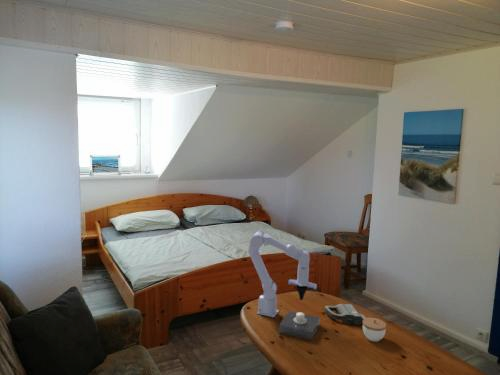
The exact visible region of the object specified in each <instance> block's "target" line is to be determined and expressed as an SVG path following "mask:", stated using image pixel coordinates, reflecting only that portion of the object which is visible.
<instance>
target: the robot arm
mask: <svg viewBox="0 0 500 375" xmlns="http://www.w3.org/2000/svg"><path fill="white" fill-rule="evenodd" d="M262 246H264V247H266V246H272V247H275V248H277V249H279V250H281V251H283V252H284V254H285V255H286V256H288V257H290V258H292V259H294V260H297V261H298V265H297V275H296V276H297V277H296V278H297V279H289V280H288V285H295V286H296V291H297V294H298V296H299V300H300V301H303V300H304V297H305V294H306V292H307V289H308V288H311V289H314V290H316V289H317V288H318V286H317V284H316V283H313V282H310V281H309V277H310V276H309V273H310V261H311V259H310V258H311V256H310V253H309V251H308V250H306V249H302V248H299V247H297V246H296V245H295V244H294V243H292V244H291V243H289V244H286V243H284V242H283V241H281V240H279V239H277V238H275V237H273V236H271V235H270V234H268V233H266V232H263V231H261V230H258V231H256V232H254V233H253V235H252V238H251V239H250V241H249V246H248V255H249V257H250V260H251V261H252V264H253V265H254V269H255V270H256V273H257V276H258V277H259V280H260V282H261V286H262V290H263V294H261V295H259V297H258V303H257V306H258V307H257V315H262V316H267V317H270V318H275V317H276V316H277V314H278V313H279V312H280V311H279V309H277V305H278V304H277V302H278V294H277V290H278V286H277V283H275V281H273V279H272V278H271V276H270V274H269V272H268V270H267V268H266V265H265V263H264V261H263V258H262V256H261V254H260V252H259V250H260V248H261V247H262Z"/></svg>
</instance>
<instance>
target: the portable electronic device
mask: <svg viewBox="0 0 500 375" xmlns="http://www.w3.org/2000/svg"><path fill="white" fill-rule="evenodd" d="M323 310H324V312H325V313H326V314H327V316H329V317H330V318H332V319H335V320H339V321H340V322H342V323H343V324H352V325H354V326H360V325H363V320H364V319H365V318H367V317H366V316H365V315H364V314H362V313H360V312H359V311H358V310H357V309H356V308H355V306H353V304H351V303H346V304H345V303H338V304H336V305H325V306H324V307H323Z"/></svg>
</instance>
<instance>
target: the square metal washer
mask: <svg viewBox="0 0 500 375" xmlns="http://www.w3.org/2000/svg"><path fill="white" fill-rule="evenodd" d="M296 313H298V312H295V311H292V310H288V312H287V313H286V315H285V316H284V317H283V319H282V320H281V321H280V324H279V325H278V326H279V327H278V333H279V334H283V335H287V336H292V337H296V338H299V339H304V340H308V341H313V339H314V337H315V335H316V333H317V331H318V329H319V327H320V317H319V316H314V315H311V314H310V315H309V314H306V313H304V314H305V316H304V318H305V319H306V320H307V323H306V324H304V325H303V324H302V325H300V324H296V323H294V321H293V319H294V318H295V317H296Z"/></svg>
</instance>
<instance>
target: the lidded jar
mask: <svg viewBox="0 0 500 375" xmlns="http://www.w3.org/2000/svg"><path fill="white" fill-rule="evenodd" d="M386 331H387V323H386V322H385V321H383V320H382V319H379V318H376V317H366V318H365V319H364V320H363V323H362V332H363V334H364V336H365V338H366V339H367V340H368V341H370V342H373V343H374V342H375V343H376V342H380V341H381V340H383V338H384V337H385V335H386Z"/></svg>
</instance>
